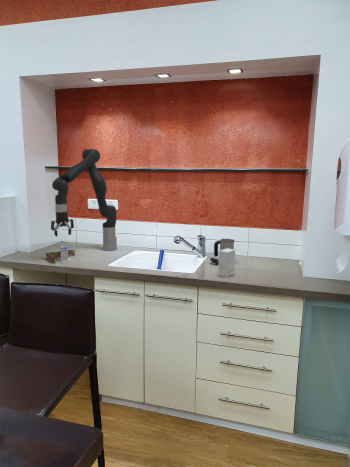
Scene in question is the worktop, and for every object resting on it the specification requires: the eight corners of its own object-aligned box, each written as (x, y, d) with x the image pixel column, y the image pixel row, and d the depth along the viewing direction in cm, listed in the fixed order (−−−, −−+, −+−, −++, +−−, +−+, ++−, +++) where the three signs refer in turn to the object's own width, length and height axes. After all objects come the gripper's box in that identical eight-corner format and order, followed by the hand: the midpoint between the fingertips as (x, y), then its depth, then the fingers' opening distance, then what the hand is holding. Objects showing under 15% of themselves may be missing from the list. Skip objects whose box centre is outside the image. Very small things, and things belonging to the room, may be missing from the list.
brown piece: (74, 255, 241) (73, 249, 241) (82, 259, 230) (82, 253, 229) (46, 258, 230) (45, 253, 229) (52, 263, 218) (52, 257, 218)
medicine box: (60, 258, 231) (60, 245, 230) (67, 257, 233) (67, 244, 231) (61, 260, 224) (60, 247, 223) (68, 260, 226) (67, 247, 224)
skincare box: (226, 272, 203) (227, 247, 200) (234, 274, 199) (235, 249, 196) (217, 275, 197) (218, 250, 194) (226, 277, 193) (227, 251, 190)
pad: (66, 257, 235) (66, 256, 235) (72, 260, 226) (72, 260, 226) (56, 258, 231) (56, 258, 231) (61, 262, 222) (61, 261, 222)
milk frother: (234, 260, 230) (235, 239, 228) (231, 266, 215) (231, 243, 213) (213, 259, 234) (214, 237, 232) (208, 264, 220) (209, 242, 217)
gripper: (52, 212, 216) (53, 237, 219) (74, 210, 224) (75, 235, 227) (48, 211, 222) (50, 235, 225) (70, 209, 230) (71, 233, 233)
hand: (63, 235), depth 226 cm, fingers open, 8 cm apart
